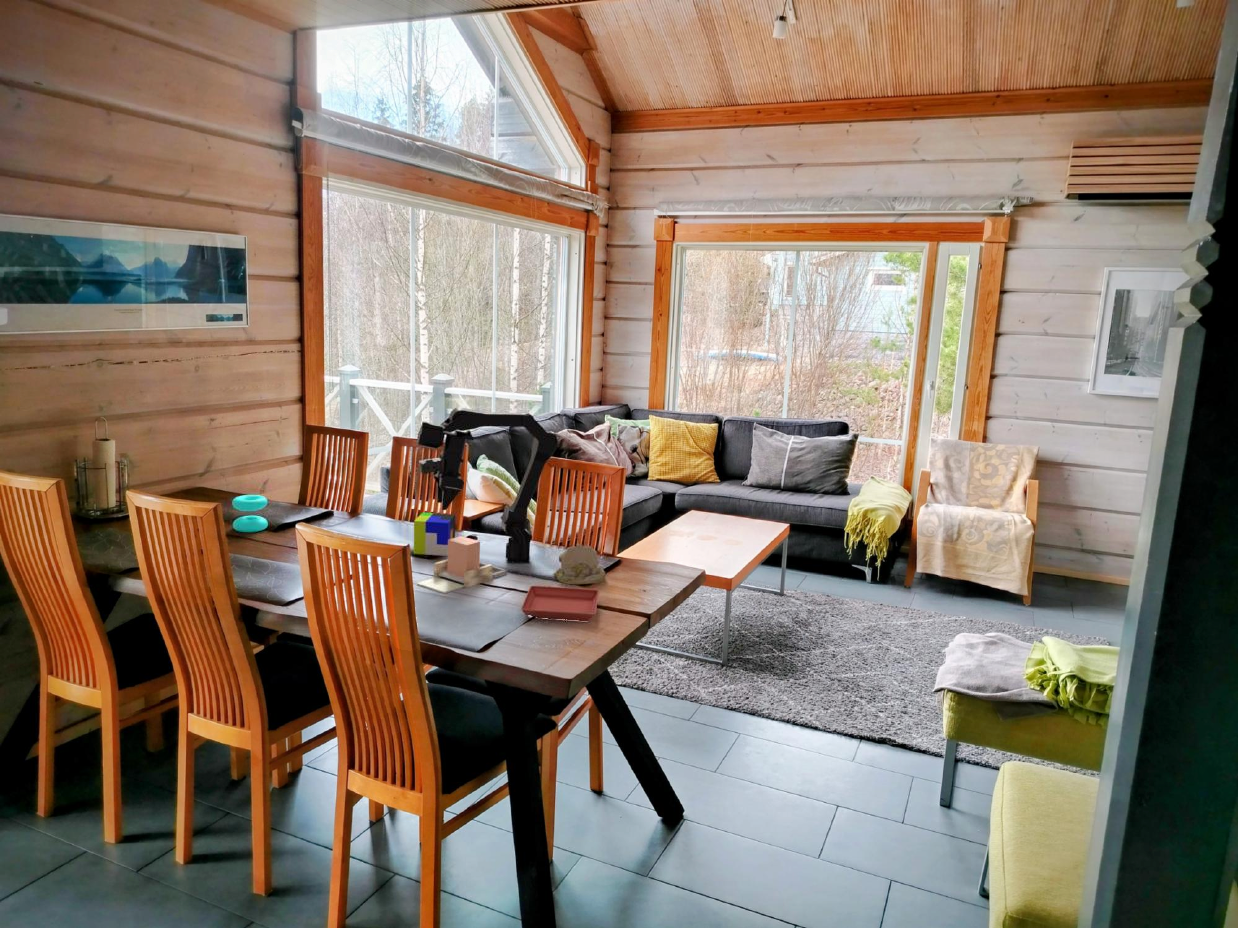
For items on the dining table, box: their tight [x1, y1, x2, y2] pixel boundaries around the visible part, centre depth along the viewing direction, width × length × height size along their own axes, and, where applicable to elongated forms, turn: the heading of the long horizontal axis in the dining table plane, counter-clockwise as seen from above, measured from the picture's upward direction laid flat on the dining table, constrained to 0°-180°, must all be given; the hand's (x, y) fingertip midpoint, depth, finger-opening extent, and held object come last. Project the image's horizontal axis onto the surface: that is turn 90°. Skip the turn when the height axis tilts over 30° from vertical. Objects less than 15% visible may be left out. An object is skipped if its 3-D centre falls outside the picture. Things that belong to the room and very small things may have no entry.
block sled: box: [439, 535, 481, 584], centre depth 236 cm, size 9×9×10 cm
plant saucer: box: [520, 585, 600, 622], centre depth 218 cm, size 18×18×3 cm
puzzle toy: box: [413, 512, 456, 557], centre depth 260 cm, size 10×10×10 cm
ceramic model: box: [552, 543, 606, 585], centre depth 242 cm, size 14×11×10 cm
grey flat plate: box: [479, 561, 508, 580], centre depth 243 cm, size 6×12×1 cm, turn 56°
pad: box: [416, 577, 465, 594], centre depth 230 cm, size 7×10×1 cm
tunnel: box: [433, 558, 494, 589], centre depth 236 cm, size 10×12×4 cm
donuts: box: [231, 494, 269, 533], centre depth 270 cm, size 10×10×10 cm
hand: (441, 506), depth 245 cm, fingers open, 9 cm apart
